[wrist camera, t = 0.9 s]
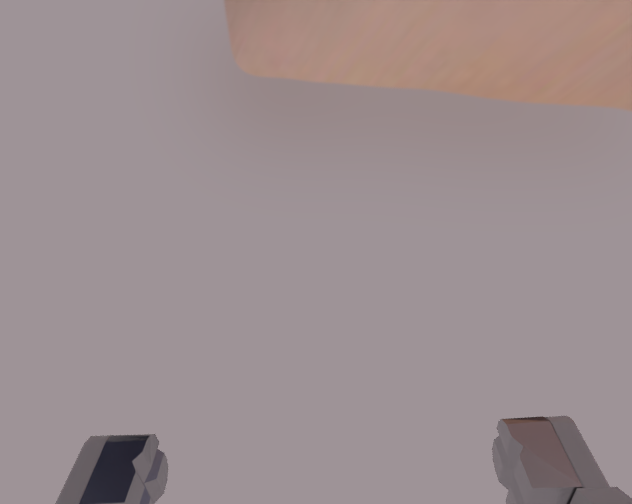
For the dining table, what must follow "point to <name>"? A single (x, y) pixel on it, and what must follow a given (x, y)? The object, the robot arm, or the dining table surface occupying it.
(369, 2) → the dining table surface
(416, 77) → the dining table surface
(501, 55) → the dining table surface
